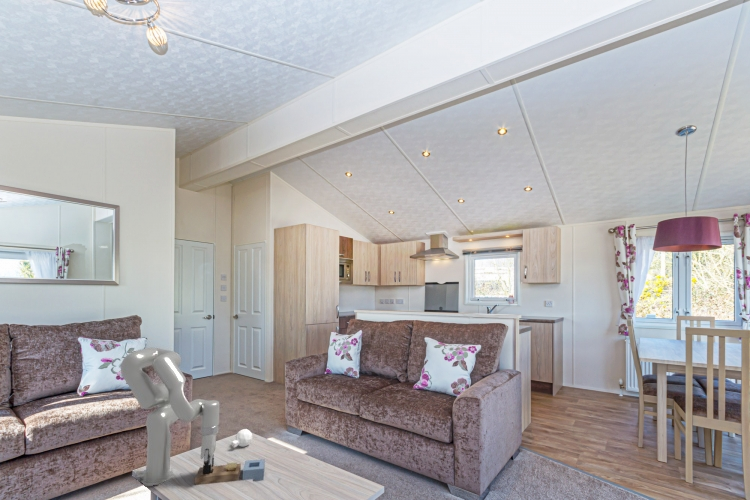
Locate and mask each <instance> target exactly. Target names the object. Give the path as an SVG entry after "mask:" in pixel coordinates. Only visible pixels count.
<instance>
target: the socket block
mask: <svg viewBox="0 0 750 500" xmlns="http://www.w3.org/2000/svg"><path fill="white" fill-rule="evenodd" d="M226 465H227V464H223V465H221V464H220V465H214V466H213V467H212V473H210V474H205V475H203V466H201V467H199V469H198V470H197V472H196V475H195V477H194V486H199V485H209V484H219V483H220V484H221V483H229V482H236V481H237V482H238V481H239V478H240V474H241V468H242V467H241V463H237V466H236V468H235V471H229V472H228V469H226Z"/></svg>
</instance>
